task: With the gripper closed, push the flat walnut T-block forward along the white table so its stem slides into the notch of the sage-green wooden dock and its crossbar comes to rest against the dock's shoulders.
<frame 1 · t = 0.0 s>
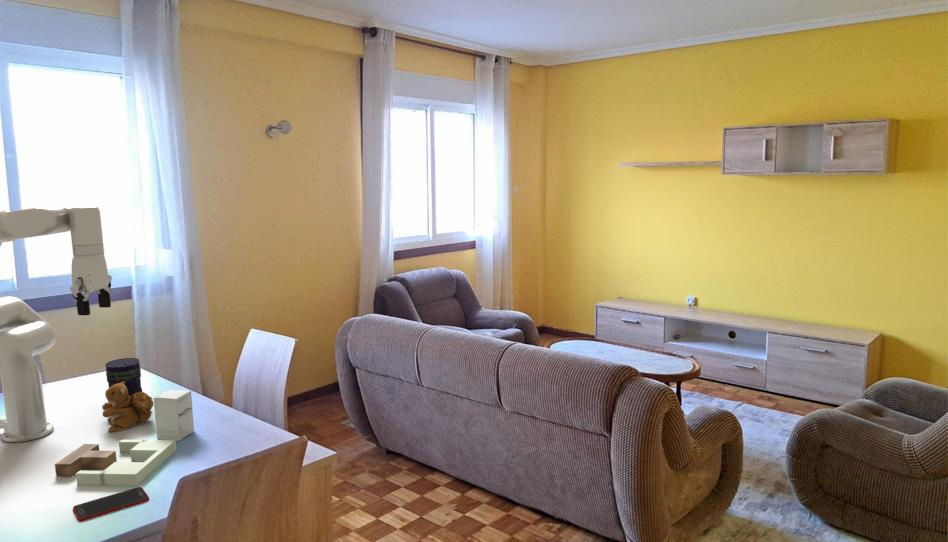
hand: (94, 311, 189), 37 cm above the table, tool pointing down, fingers open, 9 cm apart
tee: (71, 466, 176), on the table
stuffed squirrel: (130, 425, 203), on the table
dark blue barrel: (127, 407, 217), on the table
supplement box: (176, 436, 194), on the table
cell phone: (111, 506, 156), on the table
dock: (123, 466, 175), on the table
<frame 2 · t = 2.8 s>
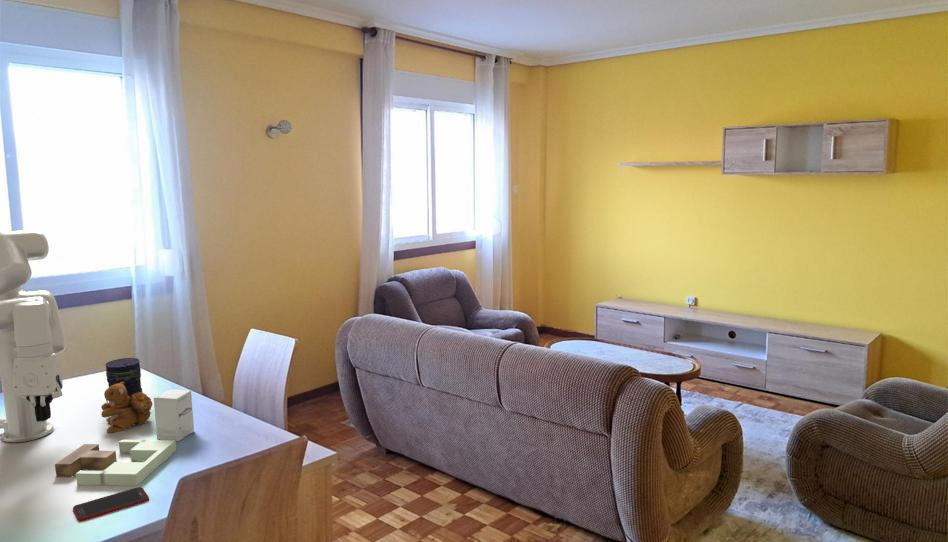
hand: (43, 419, 173), 13 cm above the table, tool pointing down, fingers closed
nothing on the table moved.
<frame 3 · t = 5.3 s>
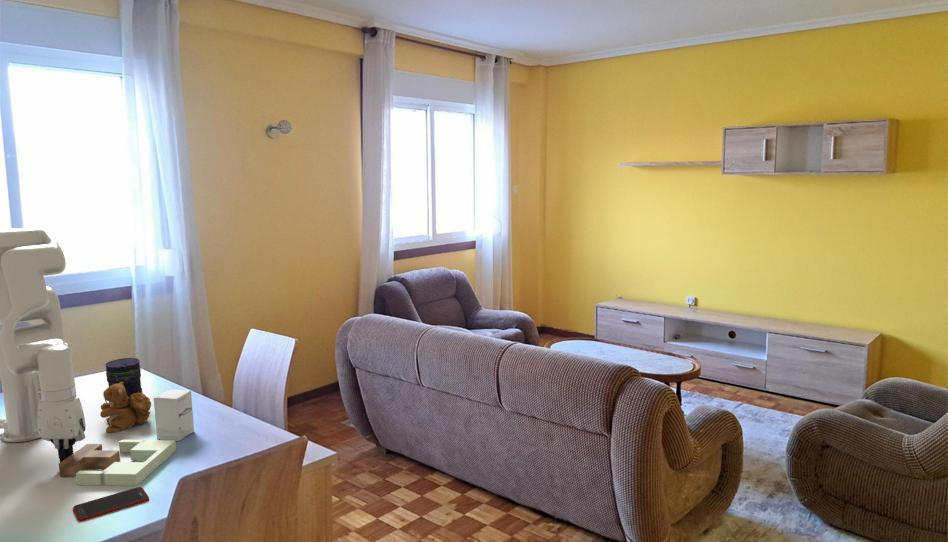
hand: (66, 461, 175), 1 cm above the table, tool pointing down, fingers closed
tee: (74, 466, 176), on the table, touching gripper
everything else where it was.
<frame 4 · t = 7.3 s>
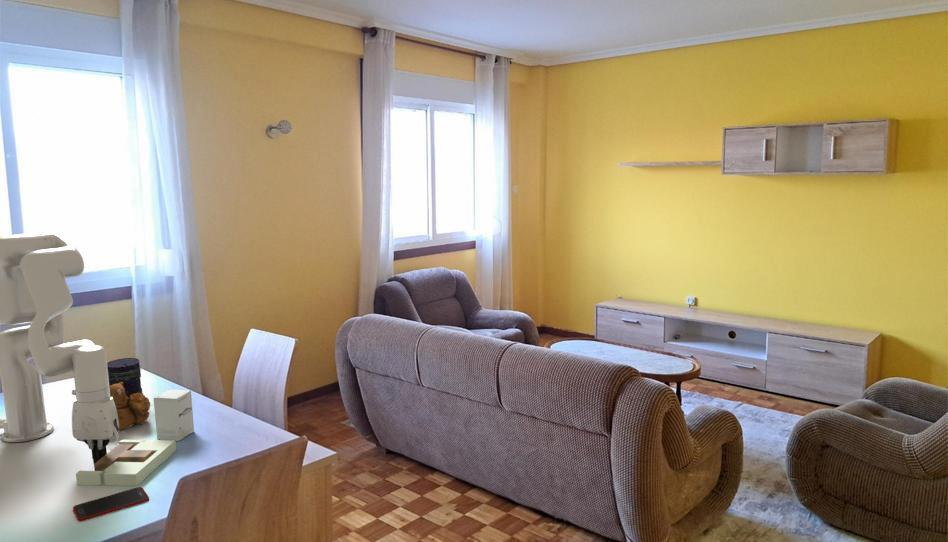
hand: (100, 461, 175), 1 cm above the table, tool pointing down, fingers closed
tee: (108, 466, 175), on the table, touching dock, gripper
everything else where it was.
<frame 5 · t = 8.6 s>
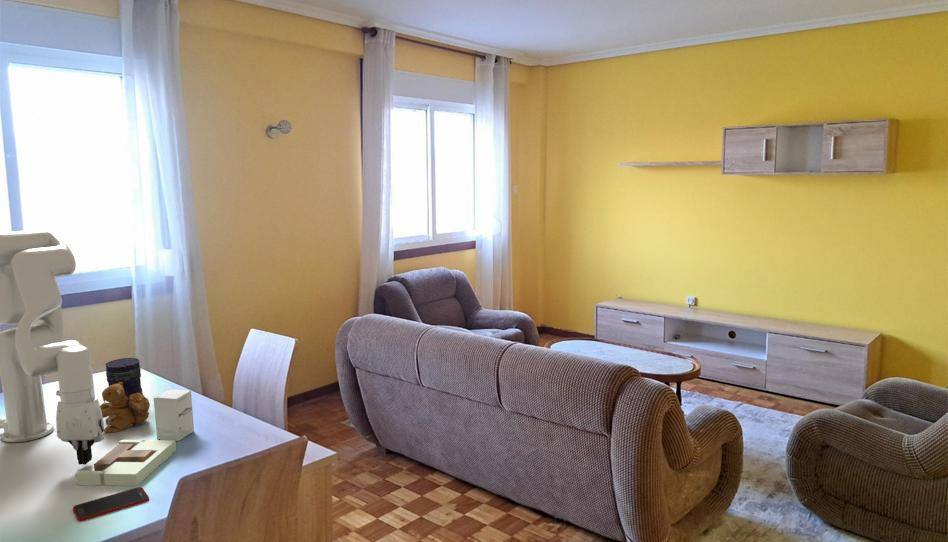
hand: (85, 462, 175), 1 cm above the table, tool pointing down, fingers closed
tee: (108, 466, 175), on the table
everything else where it was.
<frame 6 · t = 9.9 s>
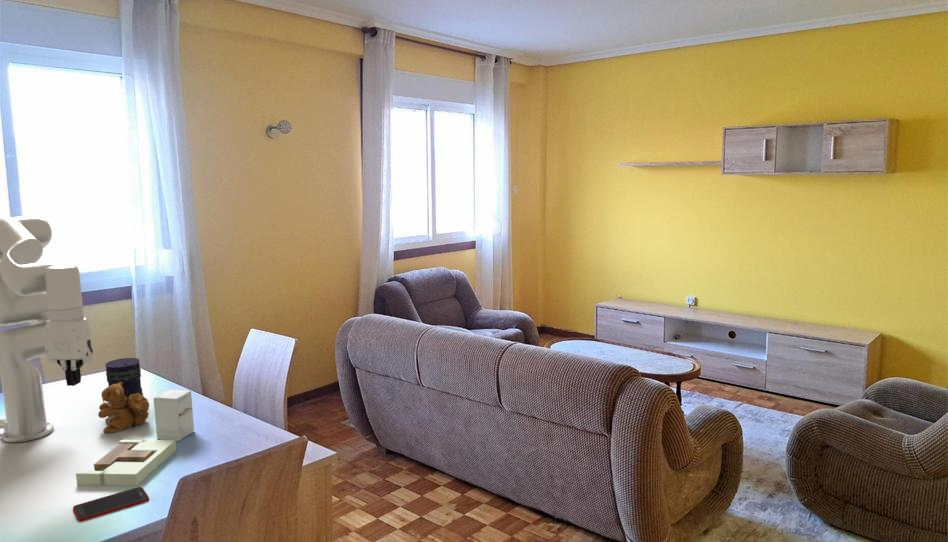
hand: (74, 383, 172), 22 cm above the table, tool pointing down, fingers closed
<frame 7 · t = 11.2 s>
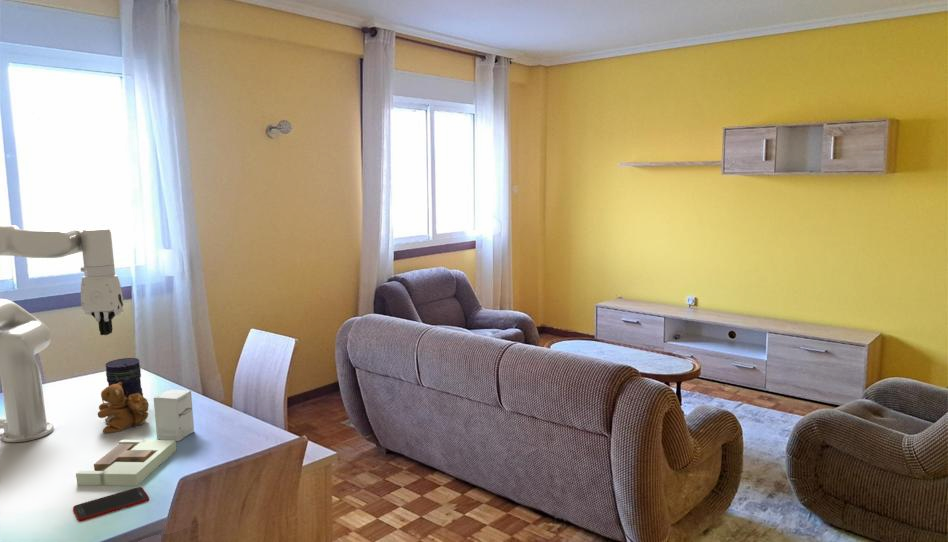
hand: (106, 333, 194), 29 cm above the table, tool pointing down, fingers closed
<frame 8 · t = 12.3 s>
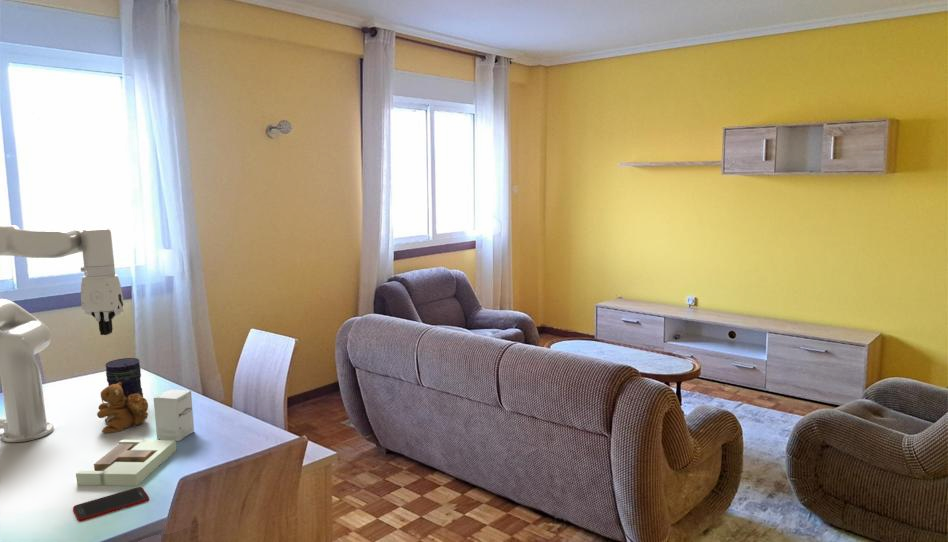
hand: (106, 333, 194), 29 cm above the table, tool pointing down, fingers closed
at the end: tee 0.2 cm from the target spot on the dock, point 0.0 cm above the dock's base; tee tilted 0°; tee moved 9.7 cm from its start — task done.
